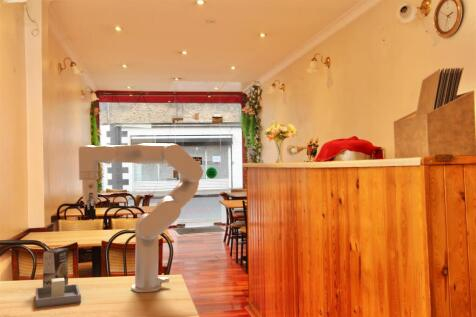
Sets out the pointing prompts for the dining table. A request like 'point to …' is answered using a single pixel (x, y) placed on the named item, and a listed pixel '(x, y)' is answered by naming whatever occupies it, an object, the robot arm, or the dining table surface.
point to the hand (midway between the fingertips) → (89, 217)
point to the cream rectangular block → (58, 287)
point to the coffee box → (55, 265)
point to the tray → (46, 300)
